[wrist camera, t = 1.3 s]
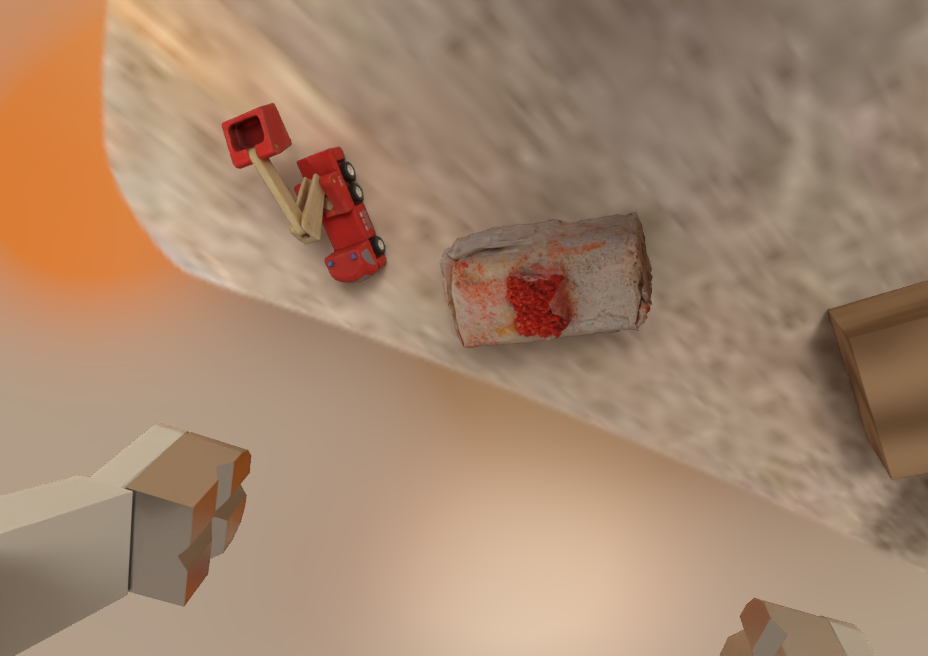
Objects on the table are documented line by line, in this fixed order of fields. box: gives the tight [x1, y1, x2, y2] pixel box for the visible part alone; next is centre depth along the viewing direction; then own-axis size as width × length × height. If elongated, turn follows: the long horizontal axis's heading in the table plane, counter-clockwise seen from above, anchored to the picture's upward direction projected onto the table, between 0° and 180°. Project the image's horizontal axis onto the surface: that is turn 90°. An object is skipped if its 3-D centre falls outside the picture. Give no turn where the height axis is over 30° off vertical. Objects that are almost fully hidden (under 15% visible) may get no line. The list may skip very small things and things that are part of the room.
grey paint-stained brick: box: [440, 212, 653, 348], centre depth 43 cm, size 14×8×10 cm, turn 105°
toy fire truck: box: [222, 103, 386, 283], centre depth 45 cm, size 3×14×10 cm, turn 20°
